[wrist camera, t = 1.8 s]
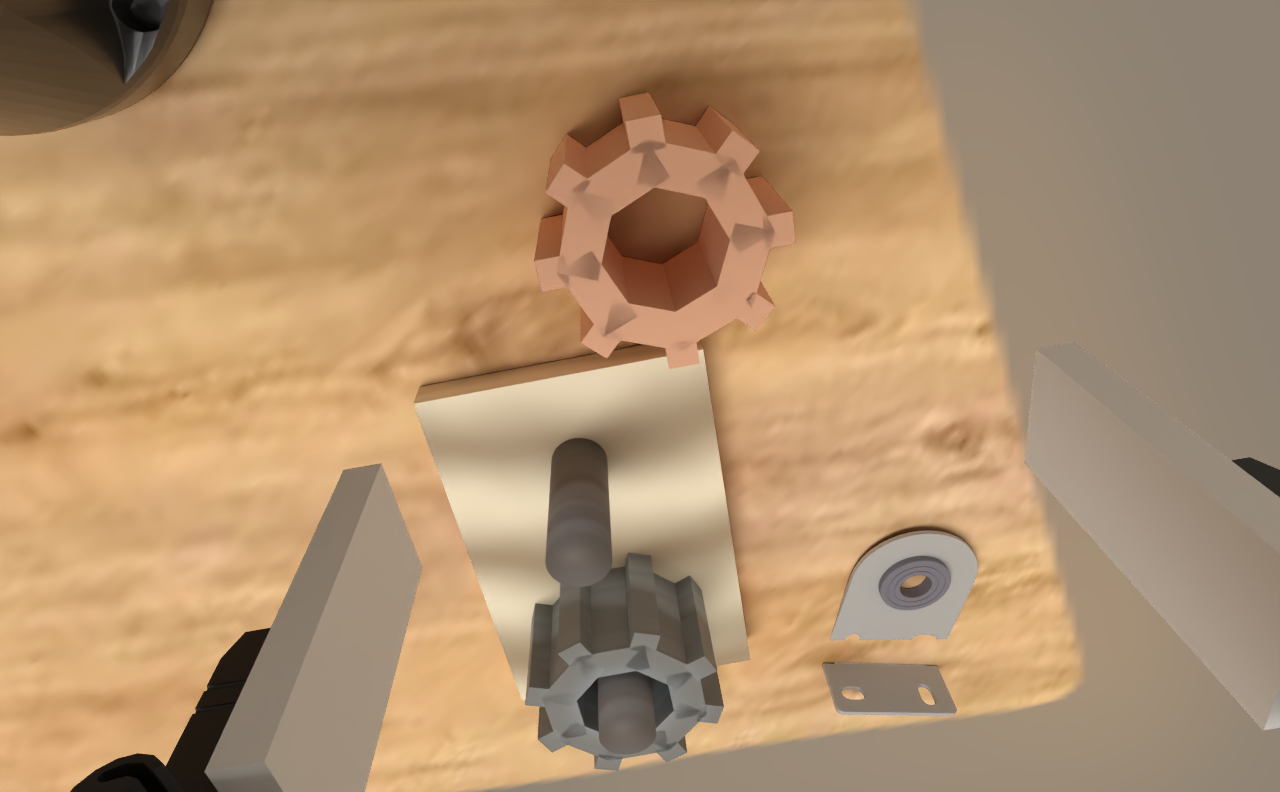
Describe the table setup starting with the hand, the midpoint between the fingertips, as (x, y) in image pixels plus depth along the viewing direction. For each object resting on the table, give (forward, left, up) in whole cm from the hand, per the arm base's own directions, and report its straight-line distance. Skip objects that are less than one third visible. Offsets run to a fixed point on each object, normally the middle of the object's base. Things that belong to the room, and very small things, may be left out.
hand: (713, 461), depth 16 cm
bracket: (+23, +9, -17) cm, 30 cm away
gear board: (+14, -5, -17) cm, 22 cm away
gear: (-1, 0, -17) cm, 17 cm away
